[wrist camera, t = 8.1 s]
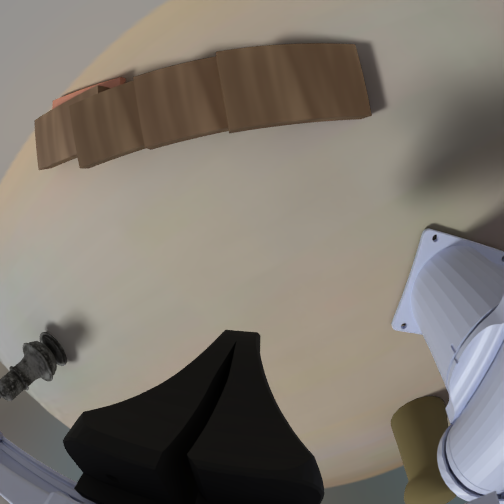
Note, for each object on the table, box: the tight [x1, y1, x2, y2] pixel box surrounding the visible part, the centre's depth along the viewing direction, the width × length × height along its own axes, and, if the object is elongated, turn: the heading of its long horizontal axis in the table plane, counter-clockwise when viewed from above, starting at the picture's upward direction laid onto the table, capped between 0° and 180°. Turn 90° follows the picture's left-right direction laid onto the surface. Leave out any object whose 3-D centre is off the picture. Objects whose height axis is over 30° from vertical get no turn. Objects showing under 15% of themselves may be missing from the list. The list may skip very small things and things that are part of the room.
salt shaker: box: [0, 332, 67, 401], centre depth 26 cm, size 6×6×12 cm
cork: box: [391, 396, 457, 504], centre depth 18 cm, size 6×6×11 cm
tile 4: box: [35, 85, 110, 170], centre depth 20 cm, size 2×5×8 cm
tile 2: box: [133, 56, 229, 149], centre depth 16 cm, size 2×5×8 cm
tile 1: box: [216, 43, 372, 133], centre depth 15 cm, size 2×5×8 cm
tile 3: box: [69, 80, 145, 168], centre depth 18 cm, size 2×5×8 cm
